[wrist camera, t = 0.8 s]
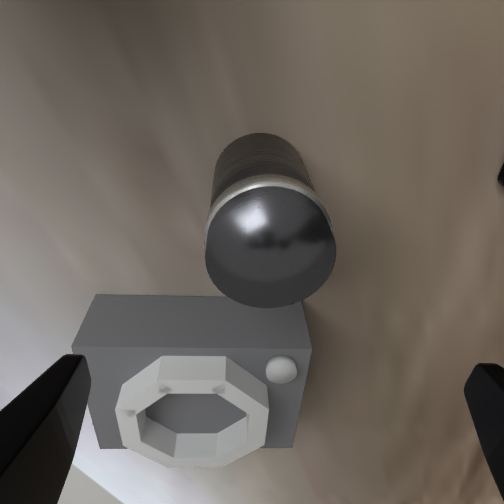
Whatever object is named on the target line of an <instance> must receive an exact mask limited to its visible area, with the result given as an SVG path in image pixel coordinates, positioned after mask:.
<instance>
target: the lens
mask: <svg viewBox="0 0 504 504" xmlns="http://www.w3.org/2000/svg"><path fill="white" fill-rule="evenodd" d="M204 246H205V252H206V253H205V261H206V267H207V271H208V273H209V276H210V278H211V280H212V281H213V283H214V284H215V285H216V287H217V288H218V289H219V290H220V291H221V292H222V293H223V294H225V295H226V296H227V297H229V298H230V299H232V300H234V301H236V302H238V303H241V304H243V305H247V306H250V307H256V308H278V307H284V306H288V305H291V304H294V303H297V302H299V301H301V300H303V299H305V298H307V297H309V296H310V295H312V294H313V293H314V292H315V291H317V290H318V289H319V288H320V287H321V286H322V285H323V283H324V282H325V281H326V280H327V278H328V277H329V275H330V273H331V271H332V269H333V266H334V263H335V258H336V244H335V239H334V236H333V231H332V225H331V222H330V219H329V216H328V214H327V212H326V209H325V207H324V205H323V203H322V201H321V200H320V198H319V197H318V196H317V194H316V193H315V191H314V188H313V186H312V183H311V181H310V179H309V176H308V174H307V172H306V169H305V167H304V164H303V162H302V160H301V158H300V156H299V154H298V152H297V151H296V150H295V148H294V147H293V146H292V145H291V144H290V143H288V142H287V141H286V140H284V139H282V138H280V137H278V136H275V135H272V134H266V133H255V134H249V135H246V136H243V137H240V138H238V139H237V140H235V141H233V142H232V143H231V144H230V145H228V146H227V147H226V148H225V149H224V151H223V152H222V153H221V155H220V157H219V159H218V161H217V163H216V167H215V172H214V181H213V190H212V198H211V207H210V211H209V213H208V216H207V221H206V227H205V236H204Z"/></svg>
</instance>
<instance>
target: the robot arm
mask: <svg viewBox="0 0 504 504" xmlns="http://www.w3.org/2000/svg"><path fill="white" fill-rule="evenodd" d="M498 181H499V183H500V184H501V185H503V186H504V164H503V166H502V169H501V171H500V173H499V176H498ZM90 389H91V376H90V372H89V368H88V364H87V360H86V357H85V356H84V355H82V354H66V355H64V356H62V357H61V358H60V359H59V360H58V361H56V362H55V363H54V364H53V365H52V366H51V367H50V368H48V369H47V370H46V371H45V372H44V373H43V374H42V375H41V376H39V377H38V378H37V379H36V380H35V381H34V382H33V383H31V384H30V385H29V386H28V387H27V388H26V389H25V390H24V391H22V392H21V393H20V394H19V395H18V396H17V397H16V398H14V399H13V400H12V401H11V402H10V403H9V404H8V405H7V406H5V407H4V408H3V409H2V410H1V411H0V504H57V503H58V500H59V497H60V495H61V492H62V489H63V486H64V484H65V481H66V478H67V475H68V472H69V470H70V467H71V464H72V461H73V458H74V454H75V450H76V447H77V443H78V439H79V435H80V430H81V426H82V422H83V418H84V414H85V410H86V406H87V402H88V398H89V394H90ZM464 394H465V398H466V401H467V404H468V407H469V410H470V413H471V416H472V419H473V422H474V426H475V429H476V432H477V435H478V438H479V441H480V444H481V447H482V450H483V453H484V456H485V458H486V461H487V463H488V466H489V468H490V471H491V473H492V475H493V478H494V480H495V482H496V485H497V487H498V489H499V491H500V494H501V496H502V498H503V501H504V368H502V367H501V366H499V365H497V364H494V363H479V364H477V365H476V366H475V367H474V369H473V371H472V373H471V374H470V376H469V378H468V380H467V382H466V383H465V386H464Z"/></svg>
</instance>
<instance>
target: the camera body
mask: <svg viewBox="0 0 504 504" xmlns="http://www.w3.org/2000/svg"><path fill="white" fill-rule="evenodd" d="M71 347H72V351H73V354H82V355H84V356H85V357H86V360H87V364H88V368H89V372H90V376H91V389H90V394H89V398H88V402H87V404H88V408H89V411H90V415H91V418H92V422H93V425H94V429H95V432H96V436H97V440H98V443H99V447H100V449H131V450H133V451H135V452H137V453H139V454H141V455H143V456H145V457H147V458H149V459H151V460H153V461H155V462H157V463H159V464H161V465H163V466H166V467H168V468H174V467H224V466H226V465H228V464H230V463H232V462H233V461H235V460H237V459H239V458H241V457H243V456H245V455H247V454H249V453H250V452H252V451H254V450H256V449H258V448H292V447H293V442H294V437H295V432H296V427H297V422H298V417H299V412H300V407H301V402H302V397H303V392H304V387H305V382H306V377H307V373H308V368H309V363H310V358H311V353H312V346H311V341H310V337H309V332H308V328H307V323H306V319H305V314H304V310H303V305H302V301H299V302H297V303H294V304H291V305H288V306H284V307H278V308H256V307H250V306H247V305H243V304H241V303H238V302H236V301H234V300H232V299H230V298H229V297H200V296H148V295H97V294H96V295H95V297H94V299H93V301H92V303H91V306H90V308H89V310H88V312H87V314H86V316H85V318H84V320H83V323H82V325H81V327H80V329H79V331H78V333H77V335H76V338H75V340H74V342H73V344H72V346H71Z"/></svg>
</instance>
